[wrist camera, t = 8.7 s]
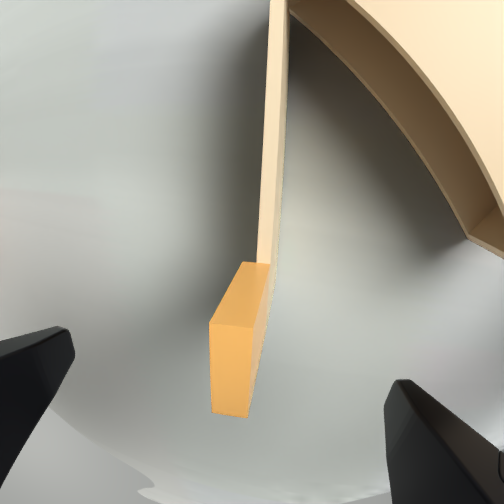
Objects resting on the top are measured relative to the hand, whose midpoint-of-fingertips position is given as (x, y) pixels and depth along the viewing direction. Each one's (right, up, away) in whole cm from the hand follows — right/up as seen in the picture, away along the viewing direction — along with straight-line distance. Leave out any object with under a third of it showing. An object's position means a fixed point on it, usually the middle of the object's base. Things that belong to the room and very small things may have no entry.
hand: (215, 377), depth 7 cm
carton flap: (+2, +9, +8) cm, 12 cm away
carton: (+15, +15, +5) cm, 22 cm away
